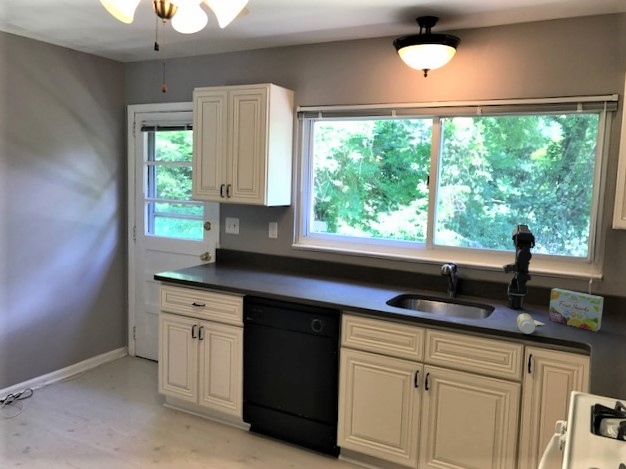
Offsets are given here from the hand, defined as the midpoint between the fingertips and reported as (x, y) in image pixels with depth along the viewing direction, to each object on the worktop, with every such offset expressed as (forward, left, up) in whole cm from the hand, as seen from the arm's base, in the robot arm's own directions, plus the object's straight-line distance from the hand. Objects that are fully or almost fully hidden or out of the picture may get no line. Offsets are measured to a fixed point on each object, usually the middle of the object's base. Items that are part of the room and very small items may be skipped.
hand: (519, 291), depth 255 cm
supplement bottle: (+10, +16, -9) cm, 21 cm away
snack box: (-17, +17, -12) cm, 27 cm away
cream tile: (0, +12, -12) cm, 17 cm away
